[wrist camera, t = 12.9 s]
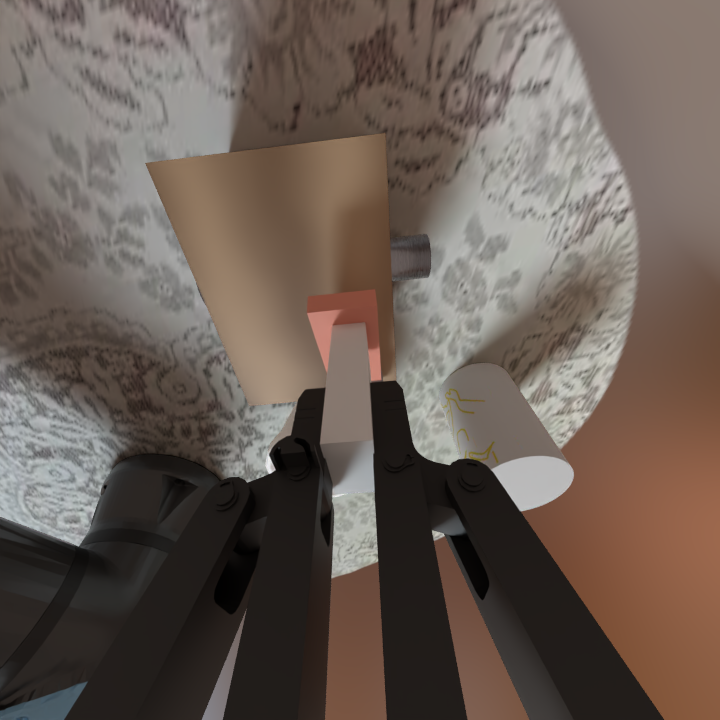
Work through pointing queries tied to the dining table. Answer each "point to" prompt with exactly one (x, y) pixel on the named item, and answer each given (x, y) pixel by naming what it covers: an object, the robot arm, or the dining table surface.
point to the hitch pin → (407, 258)
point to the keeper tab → (346, 322)
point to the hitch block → (283, 250)
